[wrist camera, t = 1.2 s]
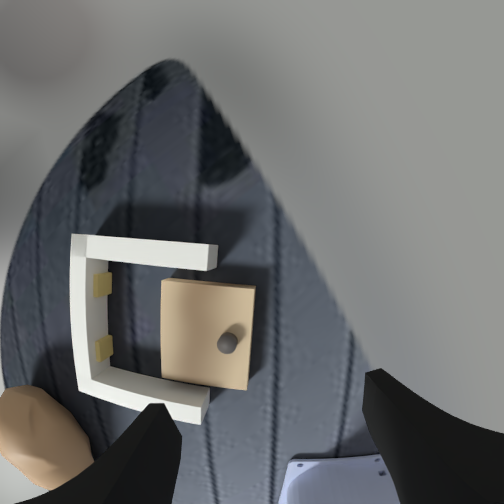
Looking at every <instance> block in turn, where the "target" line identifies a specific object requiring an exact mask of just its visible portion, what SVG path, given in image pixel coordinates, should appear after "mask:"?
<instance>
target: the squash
mask: <svg viewBox="0 0 504 504" xmlns="http://www.w3.org/2000/svg"><path fill="white" fill-rule="evenodd" d="M0 452H1V454H2V456H3V457H4V458H5V459H6V460H8V461H9V462H10V463H11V464H12V465H14V466H15V467H16V468H18V469H19V470H20V471H21V472H22V473H23V474H24V475H25V476H26V477H27V478H28V479H29V480H30V481H31V482H33V483H34V484H35V485H38V486H40V487H43V488H45V489H48V490H53V489H55V488H57V487H59V486H61V485H62V484H64V483H66V482H67V481H69V480H70V479H72V478H74V477H75V476H77V475H78V474H79V473H81V472H82V471H83V470H85V469H86V468H87V467H89V466H90V465H91V464H92V463H93V462H95V461H94V459H93V457H92V454H91V447H90V441H89V437H88V436H87V435H86V433H85V432H84V430H83V429H82V428H81V426H80V425H79V423H78V422H77V421H76V419H75V418H74V416H73V415H72V413H71V412H70V411H69V410H67V409H66V408H65V407H64V406H62V405H61V404H60V403H58V402H57V401H56V400H55V399H53V398H52V397H51V396H50V395H49V394H47V393H46V392H45V391H44V390H43V389H42V388H38V387H34V386H30V385H23V386H18V387H12V388H6V389H5V391H4V392H3V394H2V395H1V397H0Z"/></svg>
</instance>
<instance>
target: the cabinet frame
mask: <svg viewBox="0 0 504 504" xmlns="http://www.w3.org/2000/svg"><path fill="white" fill-rule="evenodd" d="M217 256H218V245H211V244H198V243H186V242H173V241H161V240H148V239H135V238H122V237H109V236H96V235H82V234H72V238H71V255H70V314H71V331H72V343H73V353H74V361H75V369H76V376H77V383H78V389H79V391H81V392H83V393H86V394H89V395H91V396H94V397H97V398H100V399H103V400H106V401H109V402H112V403H115V404H118V405H121V406H124V407H127V408H131V409H134V410H138V411H141V412H142V411H143V410H144V409H145V407H146V406H147V405H148V404H149V403H164V404H165V406H166V408H167V410H168V411H169V413H170V415H171V417H172V419H174V420H178V421H183V422H188V423H193V424H199V425H201V423H202V421H203V418H204V416H205V413H206V411H207V409H208V406H209V402H210V388H209V387H202V386H196V385H190V384H185V383H179V382H174V381H169V380H164V379H160V378H155V377H151V376H146V375H142V374H138V373H134V372H130V371H126V370H123V369H119V368H115V367H112V366H110V356H111V355H113V340H112V335H108V309H107V295H108V294H112V273H110V272H108V260H110V261H119V262H127V263H136V264H145V265H154V266H163V267H172V268H182V269H192V270H202V271H208V270H211V269H214V268H217Z"/></svg>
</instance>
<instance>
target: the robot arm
mask: <svg viewBox="0 0 504 504" xmlns="http://www.w3.org/2000/svg"><path fill="white" fill-rule="evenodd" d="M362 411H363V414H364V417H365V420H366V423H367V426H368V429H369V432H370V434H371V436H372V438H373V440H374V442H375V444H376V446H377V448H378V450H379V453H380V454H377V455H369V456H359V457H347V458H331V459H292V460H290V461H289V462H288V466H287V470H286V474H285V478H284V482H283V486H282V490H281V494H280V498H279V501H278V504H504V434H503V433H499V432H495V431H492V430H488V429H485V428H482V427H479V426H476V425H473V424H470V423H468V422H466V421H463V420H461V419H459V418H457V417H454V416H452V415H450V414H448V413H446V412H444V411H443V410H441V409H439V408H438V407H436V406H434V405H433V404H431V403H429V402H428V401H426V400H425V399H423V398H422V397H420V396H419V395H417V394H416V393H414V392H413V391H411V390H410V389H409V388H407V387H406V386H404V385H403V384H402V383H400V382H399V381H398V380H396V379H395V378H394V377H392V376H391V375H390V374H388V373H387V372H386V371H384V370H383V369H381V368H380V369H376V370H373V371H370V372H366V373H365V385H364V397H363V407H362ZM181 447H182V435H181V434H180V432H179V430H178V428H177V426H176V425H175V423H174V421H173V419H172V417H171V415H170V413H169V411H168V410H167V408H166V406H165V404H164V403H149V404H148V405H147V406H146V407H145V409H144V410H143V411H142V412H141V413H140V414H139V416H138V417H137V418H136V419H135V420H134V421H133V422H132V424H131V425H130V426H129V427H128V428H127V429H126V430H125V431H124V433H123V434H122V435H121V436H120V437H119V438H118V439H117V440H116V441H115V442H114V443H113V444H112V445H111V446H110V447H109V448H108V449H107V450H106V451H105V452H104V453H103V454H102V455H101V456H100V457H99V458H98V459H97V460H96V461H95V462H93V463H92V464H91V465H90V466H89V467H87V468H86V469H85V470H83V471H82V472H81V473H79V474H78V475H77V476H75V477H74V478H72V479H70V480H69V481H67V482H66V483H64V484H62V485H61V486H59V487H57V488H55V489H53V490H51V491H49V492H47V493H45V494H42V495H40V496H38V497H35V498H32V499H29V500H26V501H23V502H19V503H15V504H171V503H172V498H173V493H174V489H175V484H176V479H177V474H178V469H179V465H180V459H181ZM300 463H302V464H300ZM299 464H300V465H299Z"/></svg>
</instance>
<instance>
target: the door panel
mask: <svg viewBox="0 0 504 504" xmlns="http://www.w3.org/2000/svg"><path fill="white" fill-rule="evenodd" d="M255 291H256V286H253V285H241V284H229V283H218V282H207V281H197V280H187V279H177V278H167V279H164V280H162V284H161V369H162V378H167V379H172V380H177V381H183V382H189V383H195V384H201V385H208V386H215V387H222V388H230V389H239V390H247V386H248V381H249V369H250V356H251V344H252V331H253V318H254V305H255Z"/></svg>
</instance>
